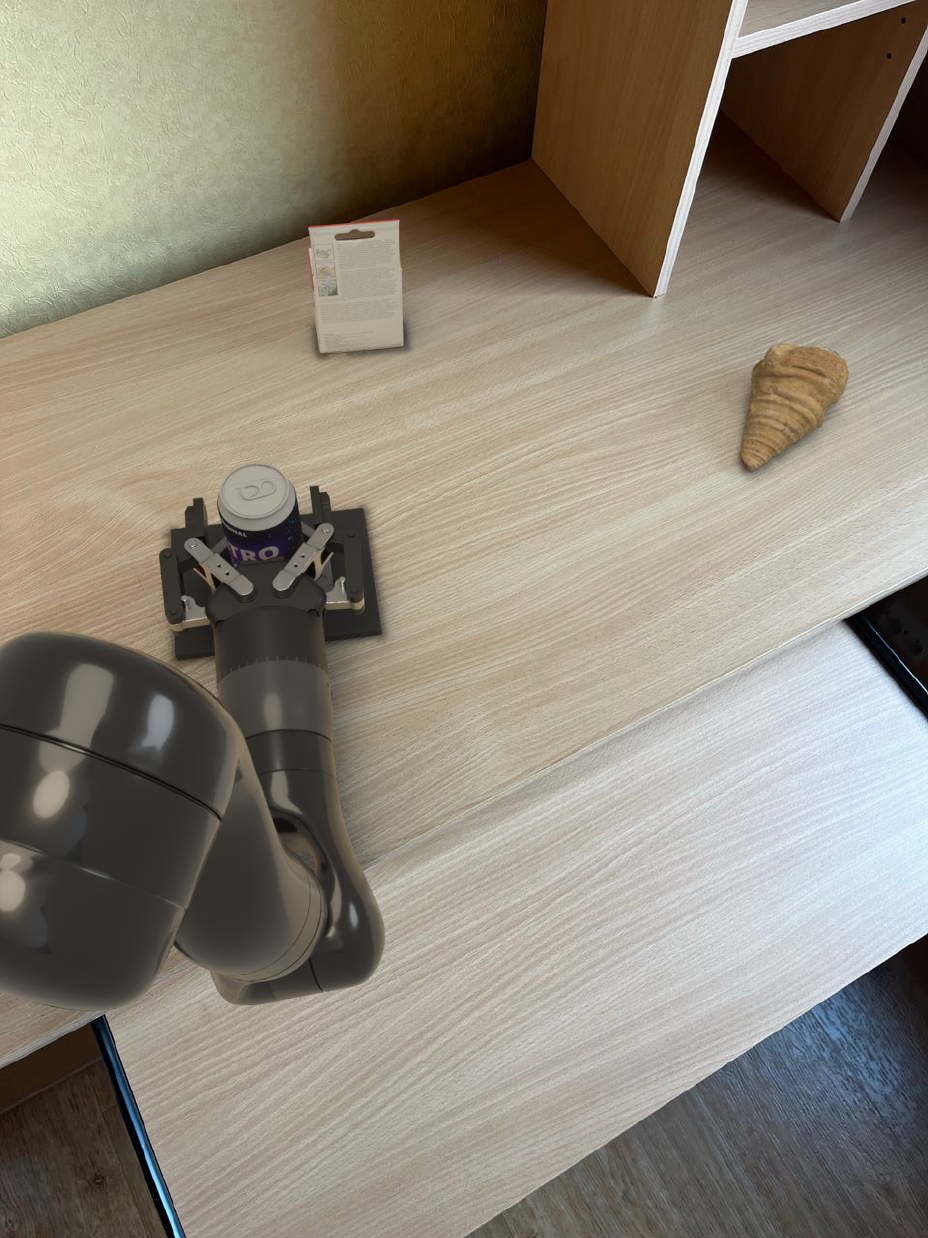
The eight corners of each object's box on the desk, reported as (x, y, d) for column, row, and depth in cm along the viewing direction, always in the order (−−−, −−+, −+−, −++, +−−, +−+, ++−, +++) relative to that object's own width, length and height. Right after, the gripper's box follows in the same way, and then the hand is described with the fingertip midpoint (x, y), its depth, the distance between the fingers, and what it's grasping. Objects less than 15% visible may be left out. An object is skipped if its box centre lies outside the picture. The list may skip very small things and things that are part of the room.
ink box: (316, 328, 100) (301, 198, 88) (399, 321, 101) (396, 191, 89) (319, 357, 99) (305, 228, 86) (404, 349, 99) (402, 221, 87)
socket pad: (177, 660, 82) (169, 643, 80) (172, 534, 88) (165, 514, 86) (381, 634, 84) (380, 617, 82) (363, 512, 90) (362, 492, 88)
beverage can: (230, 562, 86) (204, 471, 76) (296, 541, 87) (280, 448, 77) (251, 618, 83) (227, 532, 73) (319, 596, 85) (305, 507, 74)
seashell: (743, 491, 98) (827, 498, 93) (710, 450, 92) (800, 456, 87) (783, 360, 100) (868, 360, 96) (754, 311, 94) (844, 309, 89)
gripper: (377, 651, 69) (349, 456, 77) (154, 679, 67) (149, 477, 75) (380, 700, 75) (354, 516, 83) (177, 727, 74) (170, 536, 82)
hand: (257, 497), depth 79 cm, fingers open, 8 cm apart
